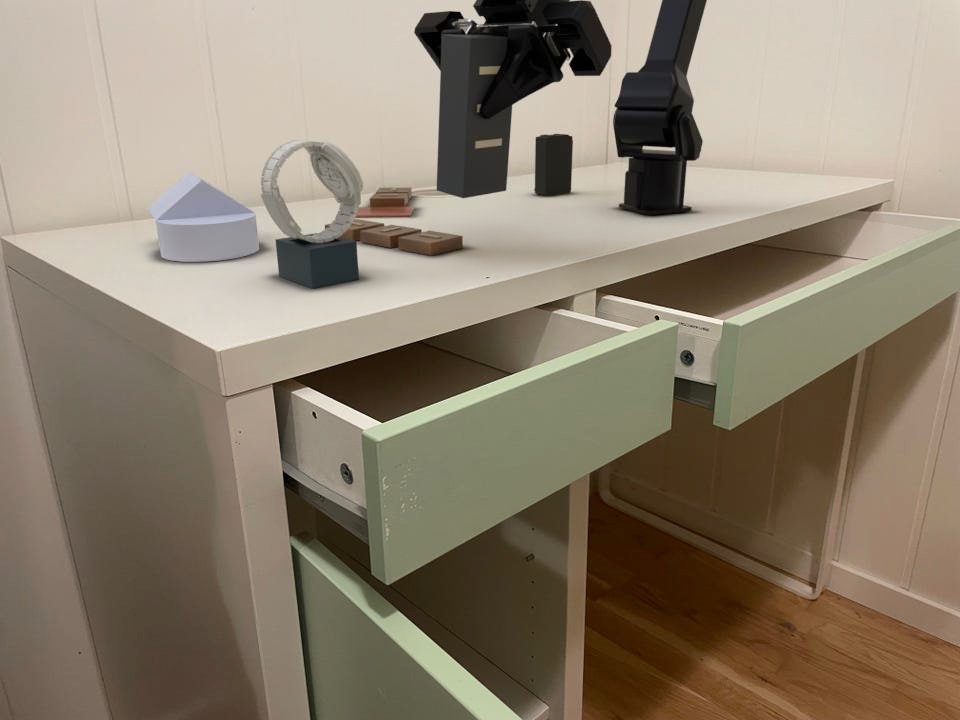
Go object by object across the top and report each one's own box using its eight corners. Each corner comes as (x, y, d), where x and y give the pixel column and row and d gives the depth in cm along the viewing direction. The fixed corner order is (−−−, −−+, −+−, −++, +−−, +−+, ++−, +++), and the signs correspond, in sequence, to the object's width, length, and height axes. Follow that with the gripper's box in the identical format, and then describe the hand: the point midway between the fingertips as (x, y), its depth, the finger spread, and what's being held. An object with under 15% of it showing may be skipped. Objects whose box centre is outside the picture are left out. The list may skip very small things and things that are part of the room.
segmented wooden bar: (463, 248, 75) (462, 234, 75) (431, 255, 72) (431, 241, 72) (357, 229, 85) (356, 217, 84) (325, 236, 82) (324, 223, 81)
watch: (378, 275, 65) (371, 139, 62) (292, 292, 60) (278, 145, 57) (342, 264, 69) (333, 136, 66) (259, 279, 64) (244, 141, 61)
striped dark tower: (436, 190, 70) (441, 34, 65) (479, 183, 74) (488, 34, 68) (463, 198, 68) (471, 37, 62) (507, 191, 72) (518, 38, 66)
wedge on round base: (152, 240, 80) (166, 265, 69) (142, 174, 78) (154, 189, 67) (241, 232, 84) (268, 255, 73) (234, 168, 82) (260, 182, 71)
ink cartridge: (560, 191, 111) (561, 133, 109) (571, 193, 110) (573, 134, 107) (534, 194, 109) (534, 135, 106) (545, 196, 107) (546, 135, 104)
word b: (410, 216, 93) (409, 205, 92) (351, 216, 93) (350, 205, 92) (421, 196, 108) (420, 186, 108) (370, 196, 108) (370, 187, 108)
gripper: (424, -83, 71) (338, 46, 67) (598, -117, 59) (505, 38, 55) (482, 15, 79) (408, 135, 75) (645, 3, 67) (567, 144, 64)
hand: (464, 115), depth 67 cm, fingers closed on striped dark tower, 4 cm apart
